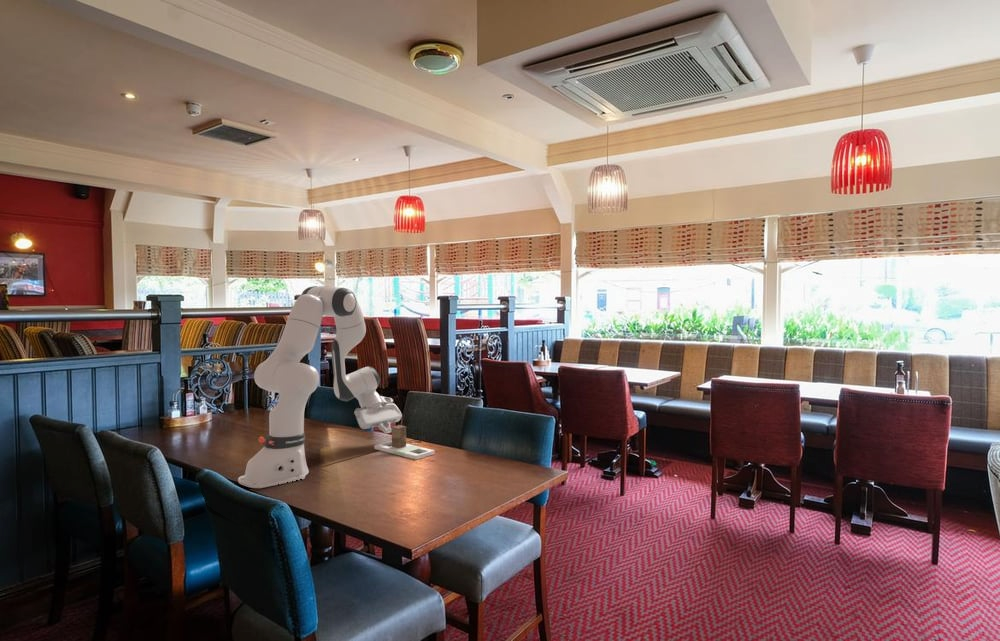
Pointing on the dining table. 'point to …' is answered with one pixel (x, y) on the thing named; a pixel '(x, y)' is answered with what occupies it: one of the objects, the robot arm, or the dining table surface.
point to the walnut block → (398, 436)
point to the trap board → (405, 450)
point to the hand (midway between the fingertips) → (388, 432)
